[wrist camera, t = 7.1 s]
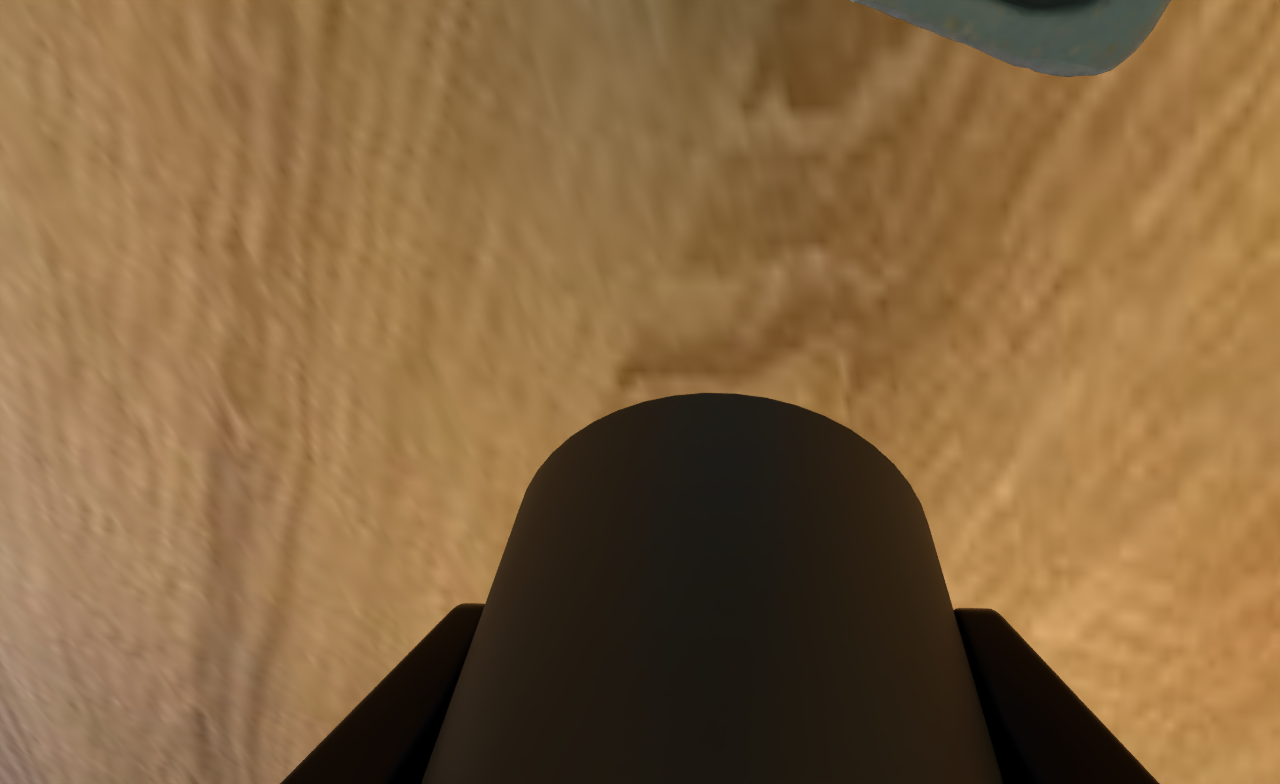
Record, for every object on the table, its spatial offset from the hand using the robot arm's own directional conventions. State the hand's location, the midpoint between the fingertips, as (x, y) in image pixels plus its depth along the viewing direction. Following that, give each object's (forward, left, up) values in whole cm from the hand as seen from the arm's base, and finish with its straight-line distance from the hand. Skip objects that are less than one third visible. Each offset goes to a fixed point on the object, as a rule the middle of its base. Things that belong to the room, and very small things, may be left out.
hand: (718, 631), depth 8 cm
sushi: (0, 0, -1) cm, 1 cm away
